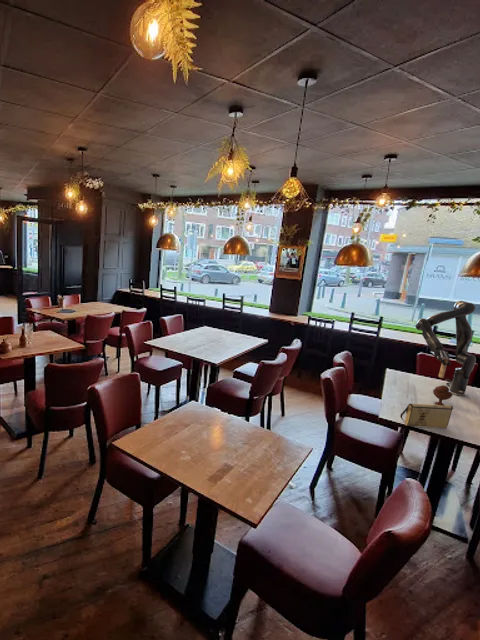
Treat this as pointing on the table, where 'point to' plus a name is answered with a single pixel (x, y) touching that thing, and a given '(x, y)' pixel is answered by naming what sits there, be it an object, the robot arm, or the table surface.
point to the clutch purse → (427, 415)
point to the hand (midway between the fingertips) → (447, 365)
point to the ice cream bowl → (442, 394)
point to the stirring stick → (443, 369)
